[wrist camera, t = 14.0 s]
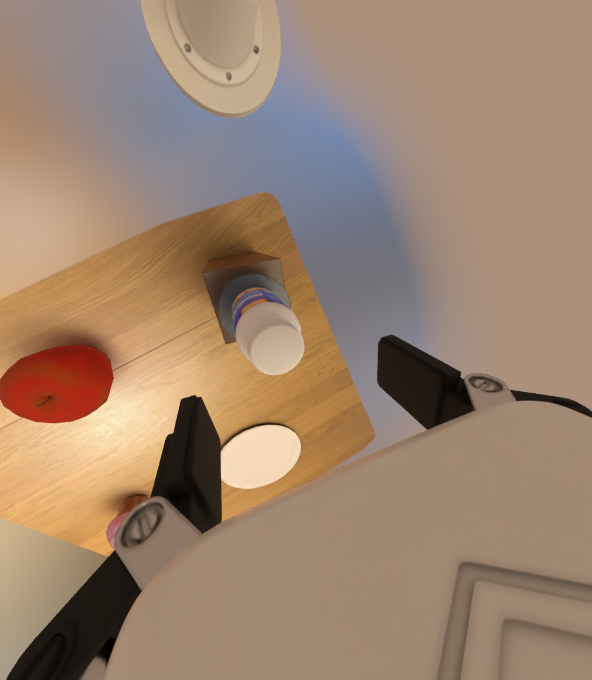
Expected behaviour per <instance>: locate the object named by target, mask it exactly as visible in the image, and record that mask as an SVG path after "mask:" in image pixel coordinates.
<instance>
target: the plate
mask: <svg viewBox="0 0 592 680" xmlns="http://www.w3.org/2000/svg"><path fill="white" fill-rule="evenodd" d="M300 450H301V444H300V439H299V438H298V436H297V435H296V433H295V432H293V431H292V430H291V429H289V428H287V427H284V426H281V425H262V426H256V427H253V428H251V429H248V430H245V431H243V432H242V433H240V434H238V435H237V436H235V437H233V438H232V439H231V440H230V441H229V442H228V443H227V444H226V445H225V446H224V447H223V449H222V450H221V480H222V481H223V482H225V483H226V484H227V485H230V486H232V487H235V488H242V489H249V488H257V487H261V486H265V485H267V484H270V483H272V482H274V481H276V480H278V479H279V478H281V477H282V476H284V475H285V474H286V473H287V472H288V471H289V470H291V468H292V467H293V466H294V464H295V463H296V462H297V460H298V457H299V455H300Z"/></svg>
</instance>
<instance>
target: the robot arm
mask: <svg viewBox="0 0 592 680" xmlns="http://www.w3.org/2000/svg"><path fill="white" fill-rule="evenodd" d="M258 2H259V0H165V7H166V12H167V17H168V21H169V25H170V28H171V31H172V34H173V36H174V39H175V41H176V43H177V45H178V47H179V49H180V51H181V53H182V54H183V56H184V57H185V59H186V60H187V61H188V63H189V64H190V65H191V66H192V67H193V69H194V70H195V71H196V72H197V73H198V74H199V75H201V76H202V77H203V78H205V79H206V80H207V81H209V82H211V83H213V84H215V85H218V86H221V87H231V88H232V87H236V86H240V85H242V84H243V83H245V82H246V81H247V80H249V79H250V78H251V77H252V75H253V73H254V72H255V70H256V68H257V66H258V63H259V60H260V56H261V52H262V44H263V26H262V19H261V13H260V10H259V6H258ZM187 51H189V52H190V53H188V52H187ZM255 52H256V53H257V54H256V53H255ZM227 78H229V79H230V81H229V80H227ZM460 376H461V372H460V371H458V370H456V369H454V368H453V367H451V366H449V365H447V364H445V363H444V362H442V361H440V360H438V359H436V358H434V357H433V356H431V355H429V354H427V353H425V352H423V351H421V350H420V349H418V348H416V347H414V346H412V345H410V344H409V343H407V342H405V341H403V340H401V339H399V338H398V337H396V336H394V335H389V336H385V337H383V338H381V340H380V341H379V343H378V370H377V382H378V384H379V386H380V387H381V388H382V389H383V390H384V391H385V392H386V393H387V394H389V395H390V396H391V397H392V398H393V399H394V400H395V401H396V402H397V403H398V404H400V405H401V406H402V407H403V408H404V409H405V410H406V411H408V412H409V414H411V415H412V416H413V417H414V418H415V419H416V420H417V421H418V422H419V423H420V424H422V425H423V426H424V427H425V428H426V429H427V431H424V432H422V433H420V434H417V435H415V436H413V437H410V438H408V439H405V440H403V441H401V442H399V443H396V444H394V445H392V446H389V447H387V448H385V449H383V450H380V451H378V452H376V453H373V454H371V455H368V456H366V457H364V458H362V459H359V460H357V461H355V462H352V463H350V464H348V465H346V466H343V467H341V468H339V469H336V470H334V471H332V472H329V473H327V474H325V475H323V476H320V477H318V478H316V479H314V480H311V481H309V482H307V483H304V484H302V485H300V486H298V487H295V488H293V489H291V490H289V491H286V492H284V493H282V494H280V495H277V496H275V497H273V498H271V499H269V500H267V501H264V502H262V503H260V504H258V505H256V506H254V507H251V508H249V509H247V510H245V511H243V512H241V513H239V514H237V515H235V516H233V517H231V518H229V519H227V520H225V521H223V522H221V521H222V502H221V443H220V438H219V436H218V433H217V431H216V429H215V427H214V424H213V422H212V420H211V418H210V415H209V413H208V411H207V409H206V407H205V404H204V402H203V400H202V398H201V397H198V398H197V397H196V395H193V396H190V397H187V398H184V399H181V402H180V406H179V411H178V415H177V419H176V424H175V428H174V433H172V434H169V435H168V436H167V437H166V440H165V444H164V448H163V451H162V455H161V459H160V463H159V467H158V471H157V475H156V478H155V482H154V486H153V490H152V494H151V498H148V499H146V500H144V501H143V502H141V503H139V504H138V505H137V506H136V507H134V508H133V509H132V510H131V511H130V512H129V513H128V514H127V515H126V517H125V518H124V519H123V521H122V522H121V524H120V525H119V527H118V529H117V532H116V534H115V538H114V547H115V550H114V551H113V553H112V554H111V555H110V556H109V557H108V558H107V559H106V560H105V562H104V563H103V564H102V565H101V566H100V567H99V568H98V569H97V570H96V572H95V573H94V574H93V575H92V576H91V577H90V578H89V579H88V580H87V581H86V583H85V584H84V585H83V586H82V587H81V588H80V589H79V590H78V592H77V593H76V594H75V595H74V596H73V597H72V598H71V599H70V601H69V602H68V603H67V604H66V605H65V606H64V607H63V608H62V610H60V612H59V613H58V614H57V615H56V616H55V617H54V618H53V619H52V620H51V622H50V623H49V624H48V625H47V626H46V627H45V628H44V630H42V632H41V633H40V634H39V635H38V636H37V637H36V638H35V639H34V640H33V642H32V643H31V644H30V645H29V647H28V648H27V649H26V650H25V652H24V653H23V654H22V655H21V657H20V658H19V659H18V661H17V663H16V664H15V666H14V667H13V669H12V670H11V672H10V674H9V675H8V677H7V679H6V680H592V411H590V410H589V409H588V408H586V407H585V406H583V405H581V404H579V403H578V402H575V401H573V400H570V399H567V398H561V397H555V396H548V395H542V394H535V393H528V392H521V391H514V390H510V389H509V388H508V387H507V385H506V384H505V383H504V382H503V381H501V380H500V379H498V378H495V377H494V376H490V375H487V374H481V373H474V374H469V375H467V376H466V377H465V378H464V379H462V378H461V377H460ZM217 524H218V525H217Z"/></svg>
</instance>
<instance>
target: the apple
mask: <svg viewBox="0 0 592 680" xmlns="http://www.w3.org/2000/svg"><path fill="white" fill-rule="evenodd" d="M113 379H114V377H113V372H112V367H111V362H110V360H109V359H108V357H107V356H106V355H105V354H104V353H102V352H101V351H99V350H97V349H96V348H93V347H90V346H86V345H67V346H58V347H53V348H50V349H47V350H43V351H40V352H37V353H35V354H32V355H29V356H26V357H24V358H21V359H20V360H18V361H17V362H16V363H15V364H14V365H13V366H11V367H10V368H9V369H8V370H7V371H6V372H5V374H4V375H3V376H2V378H1V379H0V400H1V402H2V404H3V406H4V407H6V408H7V409H9V410H10V411H12V412H13V413H15V414H16V415H18V416H20V417H23V418H26V419H29V420H32V421H35V422H43V423H63V422H72V421H75V420H77V419H80V418H83V417H85V416H87V415H89V414H90V413H92V412H94V411H95V410H97V409H98V408H99V407H100V406H101V405H103V404H104V403H105V402H106V401H107V399H108V396H109V393H110V389H111V386H112V382H113Z"/></svg>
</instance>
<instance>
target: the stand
mask: <svg viewBox="0 0 592 680" xmlns="http://www.w3.org/2000/svg"><path fill="white" fill-rule="evenodd" d="M246 271H255V272H259V273H262V274H265V275H266V276H268V277H270V278H272V279H274V280H276V281H277V282H278V283H279V284H281V286H282V287H283V288H284V289H285V286H284V280H283V274H282V268H281V262H280V258H276V257H273V256H269V255H265V254H262V253H258V252H251V253H245V254H240V255H234V256H229V257H224V258H218V259H213V260H209V261H208V263H207V265H206V267H205V269H204V271H203V273H202V274H203V277H204V280H205V283H206V286H207V289H208V292H209V295H210V298H211V301H212V304H213V307H214V310H215V313H216V316H217V319H218V322H219V325H220V328H221V331H222V334H223V337H224V340H225V343H226V344H229V343H232V342H236V339H234V338H233V337H231V336H230V335H229V334H228V333H227V332H226V330H225V329H224V327H223V326H222V324H221V321H220V318H219V300H220V294H221V291H222V288H223V286H224V285H225V283H226V282H227V281H228V280H229V279H230V278H231V277H233V276H235V275H236V274H239V273H241V272H246Z"/></svg>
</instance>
